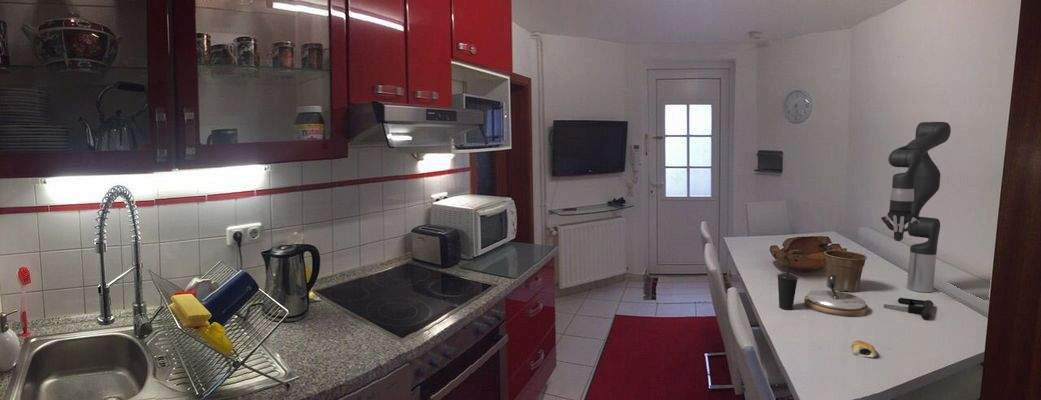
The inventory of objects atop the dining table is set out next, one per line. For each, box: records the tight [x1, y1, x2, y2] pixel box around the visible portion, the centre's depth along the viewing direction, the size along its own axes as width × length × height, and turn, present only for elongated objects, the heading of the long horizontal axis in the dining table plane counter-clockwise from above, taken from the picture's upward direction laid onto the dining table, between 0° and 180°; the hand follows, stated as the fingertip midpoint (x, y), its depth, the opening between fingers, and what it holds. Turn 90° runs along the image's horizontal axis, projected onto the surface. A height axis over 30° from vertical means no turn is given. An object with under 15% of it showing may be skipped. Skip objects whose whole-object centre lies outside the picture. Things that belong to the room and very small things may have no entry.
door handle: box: [883, 297, 936, 321], centre depth 194 cm, size 3×20×16 cm
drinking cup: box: [776, 260, 799, 311], centre depth 197 cm, size 8×8×20 cm
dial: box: [806, 275, 866, 310], centre depth 201 cm, size 26×20×7 cm
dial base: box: [803, 294, 869, 318], centre depth 199 cm, size 22×22×2 cm
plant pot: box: [824, 249, 868, 293], centre depth 221 cm, size 16×16×16 cm
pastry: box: [850, 340, 878, 359], centre depth 158 cm, size 9×7×4 cm
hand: (898, 240), depth 198 cm, fingers closed
